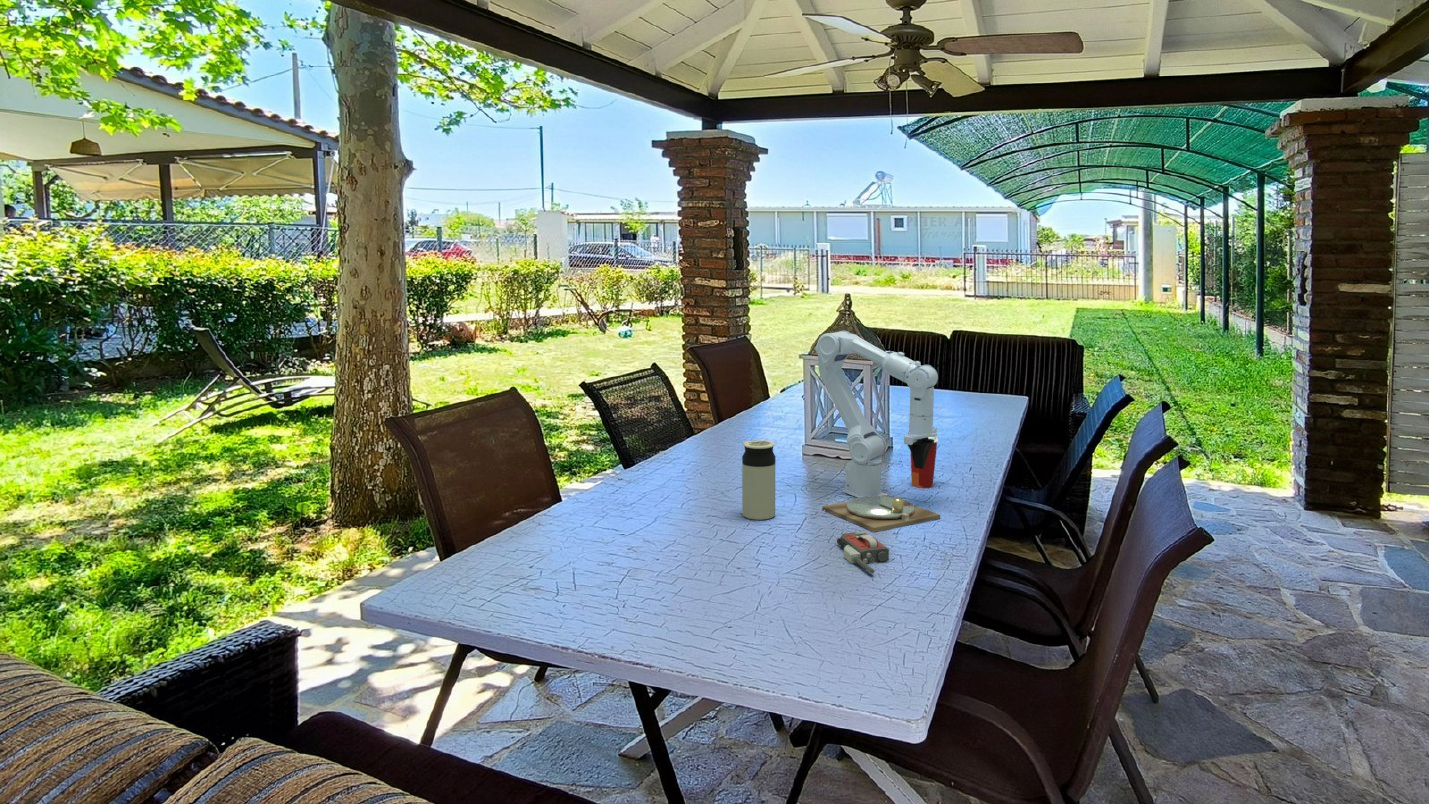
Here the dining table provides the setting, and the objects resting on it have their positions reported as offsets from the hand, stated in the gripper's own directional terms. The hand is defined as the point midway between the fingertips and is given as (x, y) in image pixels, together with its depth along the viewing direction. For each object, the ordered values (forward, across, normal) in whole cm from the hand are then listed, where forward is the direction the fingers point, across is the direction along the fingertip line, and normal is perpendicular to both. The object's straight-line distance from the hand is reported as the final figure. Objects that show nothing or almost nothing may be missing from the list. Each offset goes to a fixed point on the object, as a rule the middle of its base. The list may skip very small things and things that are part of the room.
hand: (919, 467), depth 218 cm
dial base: (+9, -14, +4) cm, 17 cm away
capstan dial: (+8, -14, +3) cm, 16 cm away
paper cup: (+10, +17, +7) cm, 21 cm away
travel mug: (+10, -32, +26) cm, 43 cm away
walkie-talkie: (+10, -43, -9) cm, 45 cm away
